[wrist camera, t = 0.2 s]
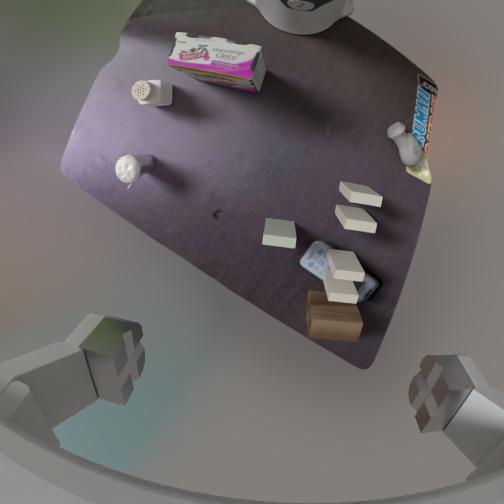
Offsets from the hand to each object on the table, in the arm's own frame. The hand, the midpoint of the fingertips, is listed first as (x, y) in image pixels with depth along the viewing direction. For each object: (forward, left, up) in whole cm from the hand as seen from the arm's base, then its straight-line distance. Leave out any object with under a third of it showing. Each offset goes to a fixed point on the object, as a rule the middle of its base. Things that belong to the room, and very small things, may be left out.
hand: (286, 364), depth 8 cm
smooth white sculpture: (-8, +21, -48) cm, 53 cm away
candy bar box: (-15, -10, -48) cm, 51 cm away
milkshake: (+2, -24, -48) cm, 53 cm away
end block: (+25, +13, -47) cm, 55 cm away
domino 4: (+15, +13, -47) cm, 51 cm away
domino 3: (+6, +13, -47) cm, 49 cm away
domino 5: (+19, +13, -47) cm, 52 cm away
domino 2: (+2, +13, -47) cm, 49 cm away
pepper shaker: (-11, -22, -48) cm, 53 cm away
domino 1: (+10, +1, -47) cm, 48 cm away
